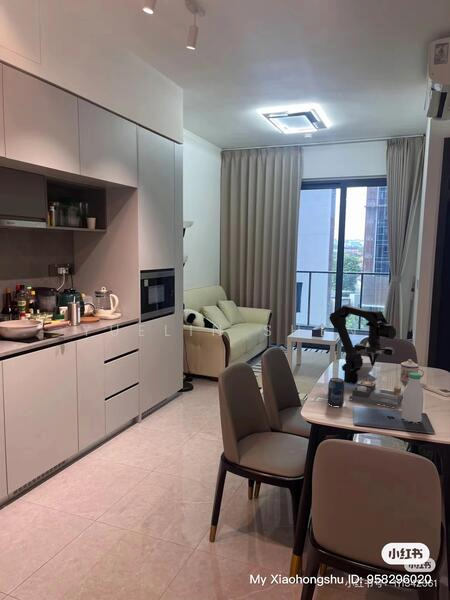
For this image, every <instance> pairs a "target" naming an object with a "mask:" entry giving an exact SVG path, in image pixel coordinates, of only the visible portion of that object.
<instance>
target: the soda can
mask: <svg viewBox="0 0 450 600" xmlns="http://www.w3.org/2000/svg"><path fill="white" fill-rule="evenodd" d="M343 380H344V378H340V377H339V378H338V377H330V379H329V381H328V386H327V387H328V388H327V389H328V390H327V403H328V405H329V404H330V405H332V406H341V407H342V406H343V405H344V397H345V395H344V393H345V382H343ZM330 405H329V406H330Z"/></svg>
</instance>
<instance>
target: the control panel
mask: <svg viewBox="0 0 450 600" xmlns="http://www.w3.org/2000/svg"><path fill="white" fill-rule="evenodd" d="M362 382H370V383H371V385H365V384H362ZM357 386H365V387H367V391H366V392H365V391H359V390H357ZM376 386H377V383H376V382H374V381H368V380H362V379H361V380H360V381H358V382H357V385H355V386H354V387H353V388H352V390H351V393H350V394H349V395H348V396H349V397H348V399H352V400H351V401H354V400H356V401H355V402H359V401H361V402H360V403H364V402H367V403H366V404H370V403H372V404H371V405H375V404H380V405H385V406H384V407H386V406H389V407H388V408H391V407H394V408H393V409H397V408H398V407H399V404H400V403H401V400H402V399H403V393H404V391H401V395H400V397H399V398H398V396H396V395H394V389H388V388H383V387H378V386H377V387H376ZM380 405H379V406H380Z"/></svg>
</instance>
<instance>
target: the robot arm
mask: <svg viewBox="0 0 450 600" xmlns="http://www.w3.org/2000/svg"><path fill="white" fill-rule="evenodd" d="M349 315H353V316H356V317H360V318H363V319H365V320H366V321H367V322H366V323H365V326H367V327H368V339H367V342H366V345H365V344H364V343H356V344H354V345H353V343H352V340H351V337H350V335H349V331H348V330H347V329H348V328H347V327H346V325H347V318H348V317H349ZM328 319H329V321H330V324H331V325H332V327H333V328H335V329H336V331H337V333H338V336H339V339H340V341H341V345H342V347H343V350H344V353H345V357H344V358H345V359H344V360H345V363H344V364H343V365H341V369H342V371H343V372H344V373H343V374H344V375H343V376H344V378H343V382H344V383H347V384H354V385H355V384H356V383H358V382H359V374H358V370H360V368H361V367H362V364H363V361H362V360H363V359H362V357H361V356H362V355H361V351H362V350H363V351H364V353H365V354H366V355H368V356H367V357H369V358H370V362H371V365H372V366H373V367H374V366H375V364H376V362H377V359H378V357H379V356H381V355H382V354H384V355H385V356H386V355H387V356H394V354H395V348H394V347H391V346H389V347H388V346H386V347H384V348H383V347H382V343H381V338H385V339H387V340H394V339H395V337H396V336H397V331H396V328H395V327H394V325H393V324H389V323H388V322H387V319H386V317H385V316H384V312H383V311H381V310H377V309H376V310H375V309H374V310H373V309H372V310H368V309H364V308H360V307H356V306H353V305H352V306H351V305H349V304H348V305H347V304H346V305H343V306H342V307H340V308H339V309H337V310H335V311H333V312H331V313H330V314H329V318H328ZM375 361H376V362H375Z"/></svg>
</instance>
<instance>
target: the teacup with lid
mask: <svg viewBox="0 0 450 600" xmlns="http://www.w3.org/2000/svg"><path fill="white" fill-rule="evenodd" d="M419 367H420V366H419V364H418V363H415V362H414V361H413V360H412V359H407V361H403V362H401V363H400V376H399V380H400V381H401V382H405V383H408V381H409V373H418V374H419V371H421V372H422V374H421V378H423V377H424V376H425V371H424V370H423V369H422V368H419Z"/></svg>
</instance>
